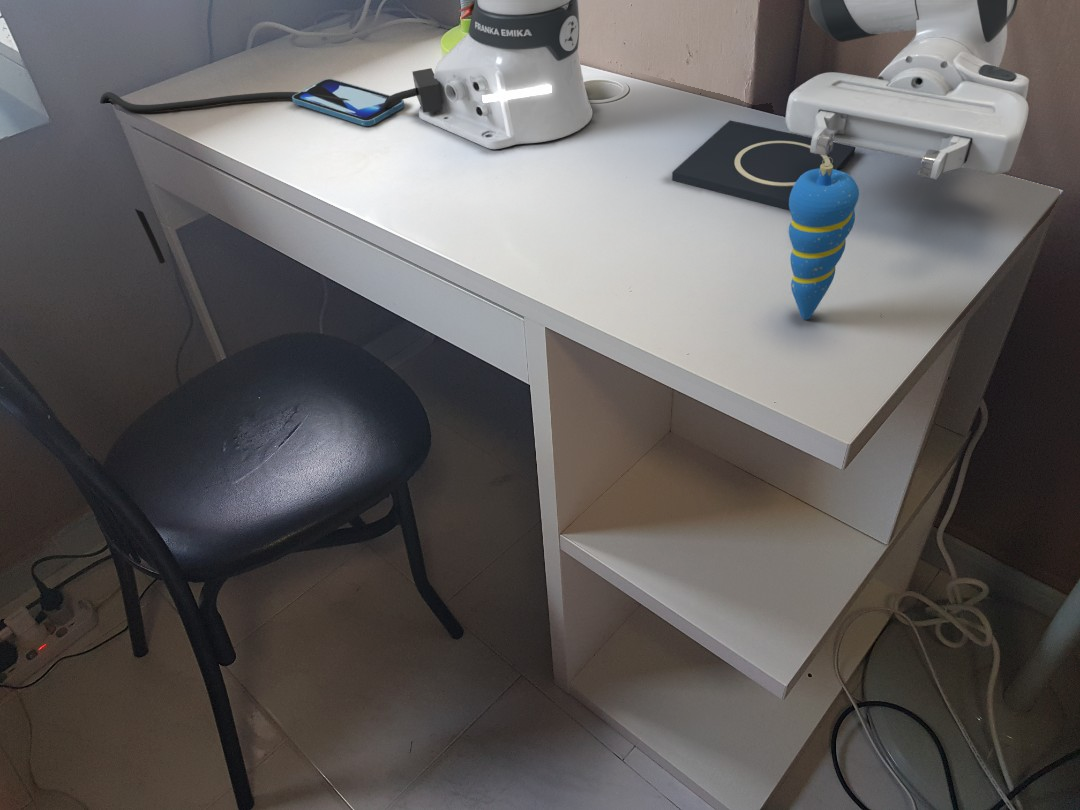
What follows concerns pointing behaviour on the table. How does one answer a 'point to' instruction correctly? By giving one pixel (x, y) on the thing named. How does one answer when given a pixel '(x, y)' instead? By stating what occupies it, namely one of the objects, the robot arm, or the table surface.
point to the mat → (756, 163)
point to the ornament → (819, 231)
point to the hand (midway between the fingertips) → (871, 157)
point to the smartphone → (346, 102)
